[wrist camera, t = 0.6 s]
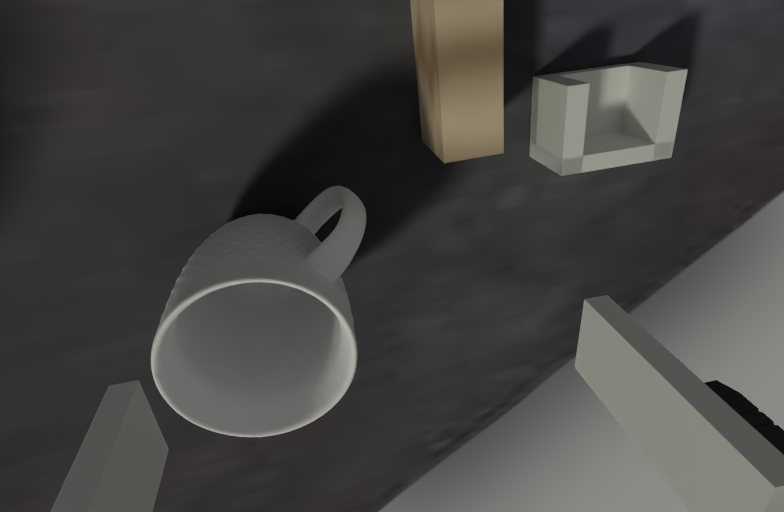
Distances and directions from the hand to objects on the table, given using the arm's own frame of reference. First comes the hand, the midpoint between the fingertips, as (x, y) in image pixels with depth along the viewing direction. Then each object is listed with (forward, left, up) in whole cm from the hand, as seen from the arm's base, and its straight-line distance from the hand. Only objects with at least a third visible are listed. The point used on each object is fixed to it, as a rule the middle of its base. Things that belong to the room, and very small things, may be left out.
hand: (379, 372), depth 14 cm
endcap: (-1, +20, -23) cm, 31 cm away
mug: (+6, -5, -24) cm, 25 cm away
